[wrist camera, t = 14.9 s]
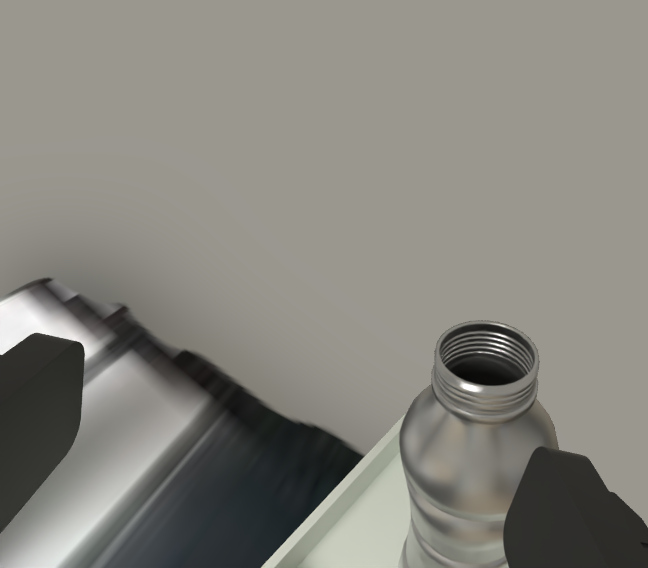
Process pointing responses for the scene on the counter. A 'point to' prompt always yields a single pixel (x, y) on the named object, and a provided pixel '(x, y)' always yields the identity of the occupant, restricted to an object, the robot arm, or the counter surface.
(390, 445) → the tray
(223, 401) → the counter surface
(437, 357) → the plastic bottle
